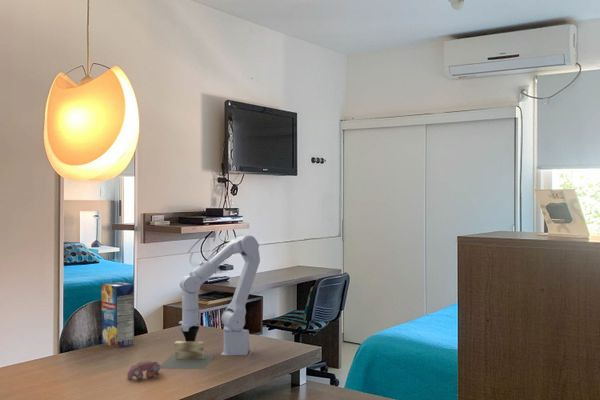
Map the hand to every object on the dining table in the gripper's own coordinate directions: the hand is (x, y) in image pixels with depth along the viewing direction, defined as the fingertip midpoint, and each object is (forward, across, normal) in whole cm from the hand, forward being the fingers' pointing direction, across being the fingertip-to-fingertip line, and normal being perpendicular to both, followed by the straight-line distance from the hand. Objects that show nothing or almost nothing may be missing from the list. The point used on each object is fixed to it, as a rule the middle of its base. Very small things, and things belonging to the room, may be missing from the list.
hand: (190, 347), depth 206 cm
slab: (+3, +1, 0) cm, 4 cm away
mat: (+4, +5, 0) cm, 6 cm away
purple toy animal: (+5, +22, -9) cm, 25 cm away
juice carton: (+4, -22, -35) cm, 42 cm away
